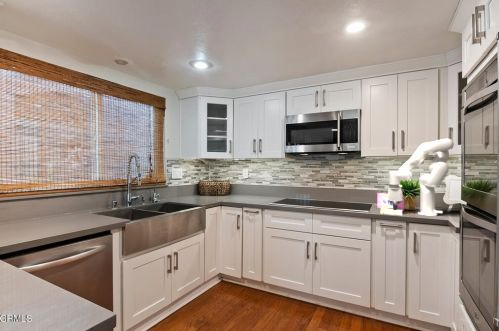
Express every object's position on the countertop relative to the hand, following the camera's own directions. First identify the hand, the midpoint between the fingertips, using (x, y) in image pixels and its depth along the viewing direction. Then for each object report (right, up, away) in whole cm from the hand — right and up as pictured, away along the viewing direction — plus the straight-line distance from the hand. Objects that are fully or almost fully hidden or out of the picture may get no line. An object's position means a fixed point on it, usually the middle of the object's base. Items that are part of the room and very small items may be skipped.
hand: (395, 209), depth 211 cm
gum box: (+7, -3, +20) cm, 21 cm away
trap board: (-1, -3, +4) cm, 5 cm away
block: (-6, 0, +3) cm, 7 cm away
